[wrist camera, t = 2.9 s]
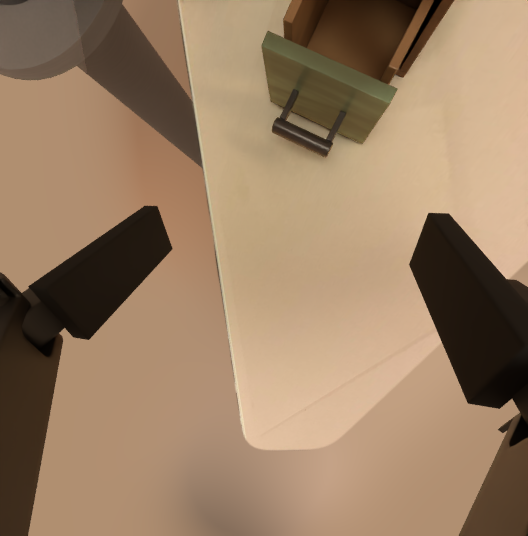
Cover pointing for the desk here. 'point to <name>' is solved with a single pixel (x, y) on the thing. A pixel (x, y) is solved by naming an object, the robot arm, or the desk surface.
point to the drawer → (338, 64)
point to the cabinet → (424, 33)
